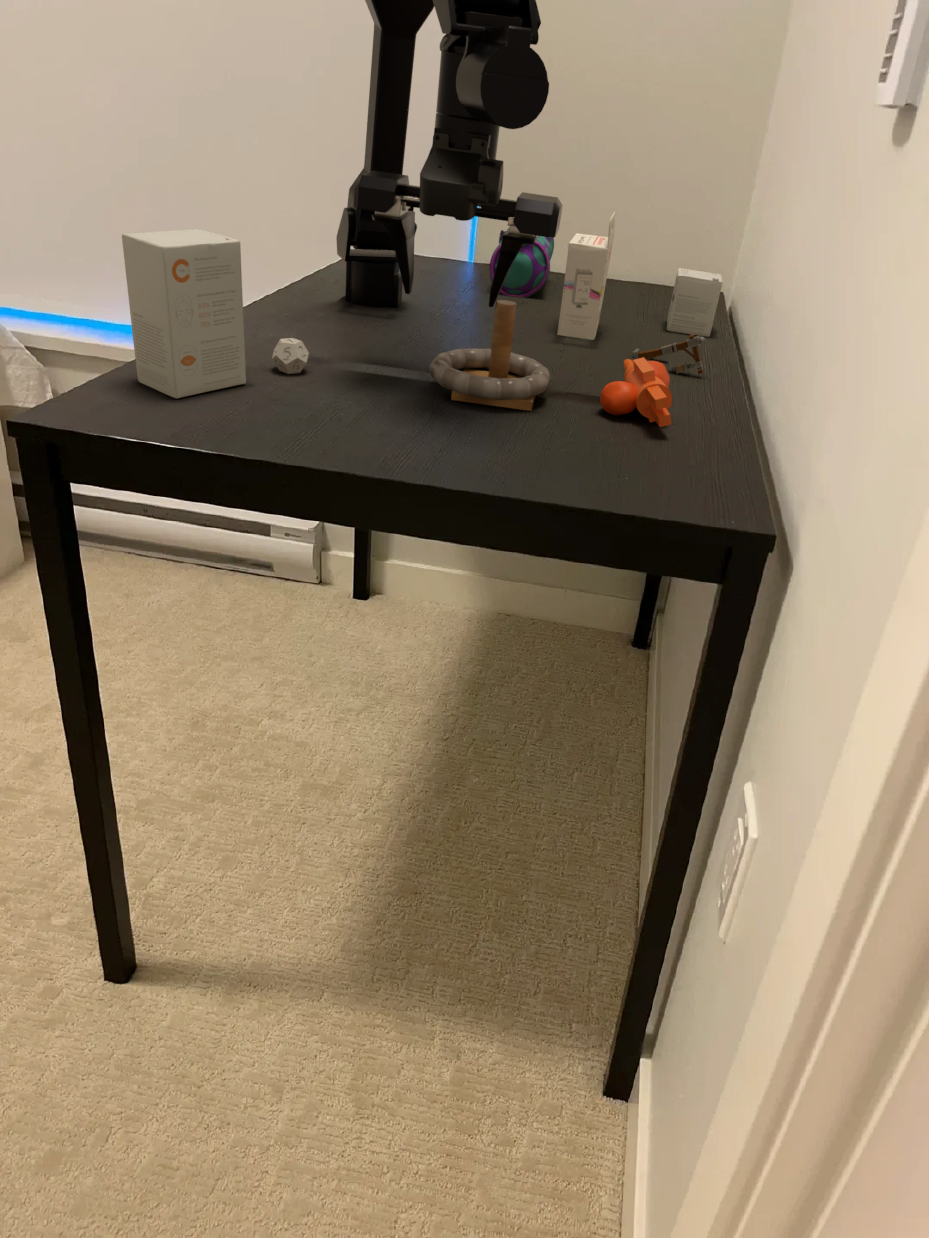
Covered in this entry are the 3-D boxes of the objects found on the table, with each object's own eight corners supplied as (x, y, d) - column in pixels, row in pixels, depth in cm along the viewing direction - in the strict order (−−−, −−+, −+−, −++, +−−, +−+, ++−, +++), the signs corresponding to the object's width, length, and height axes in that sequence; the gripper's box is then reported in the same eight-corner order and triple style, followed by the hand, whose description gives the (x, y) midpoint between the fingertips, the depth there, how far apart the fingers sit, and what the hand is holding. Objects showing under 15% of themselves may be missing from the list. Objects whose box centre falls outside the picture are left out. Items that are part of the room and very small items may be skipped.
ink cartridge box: (560, 327, 117) (578, 206, 110) (598, 332, 117) (618, 211, 109) (553, 342, 110) (572, 214, 102) (593, 348, 109) (614, 219, 102)
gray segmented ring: (419, 391, 85) (420, 371, 84) (441, 359, 95) (443, 340, 94) (543, 409, 84) (546, 388, 83) (551, 374, 94) (554, 356, 93)
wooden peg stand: (451, 400, 87) (459, 305, 82) (463, 377, 94) (471, 289, 89) (531, 411, 86) (544, 317, 82) (538, 387, 93) (550, 299, 89)
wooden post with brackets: (709, 372, 101) (702, 333, 100) (641, 388, 105) (633, 350, 103) (711, 369, 103) (704, 330, 101) (644, 384, 106) (636, 347, 105)
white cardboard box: (666, 321, 126) (677, 267, 122) (709, 327, 125) (722, 273, 121) (665, 331, 121) (677, 274, 117) (710, 337, 120) (724, 281, 116)
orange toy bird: (689, 379, 80) (657, 343, 90) (608, 398, 81) (586, 361, 91) (694, 430, 83) (663, 390, 93) (616, 449, 84) (593, 407, 94)
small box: (207, 368, 88) (199, 227, 81) (247, 385, 85) (242, 240, 78) (134, 381, 83) (119, 232, 76) (175, 400, 80) (162, 245, 73)
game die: (281, 377, 88) (280, 347, 86) (267, 366, 91) (266, 336, 89) (314, 374, 90) (314, 345, 88) (299, 364, 92) (299, 335, 91)
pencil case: (495, 273, 144) (502, 209, 139) (549, 280, 144) (558, 216, 139) (484, 300, 127) (491, 228, 122) (545, 307, 126) (555, 235, 121)
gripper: (340, 105, 72) (333, 302, 80) (567, 137, 70) (536, 335, 79) (373, 102, 81) (364, 279, 90) (574, 130, 80) (546, 307, 88)
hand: (449, 300), depth 86 cm, fingers open, 8 cm apart
